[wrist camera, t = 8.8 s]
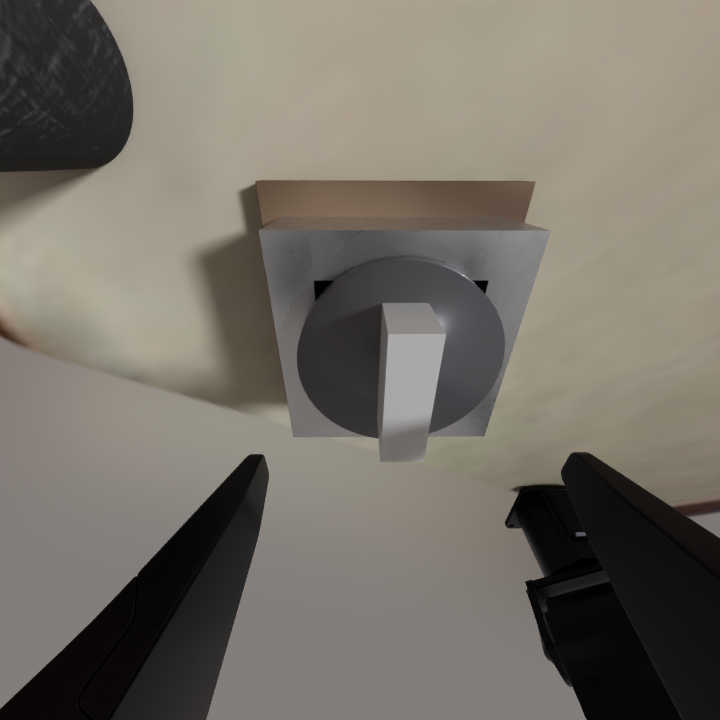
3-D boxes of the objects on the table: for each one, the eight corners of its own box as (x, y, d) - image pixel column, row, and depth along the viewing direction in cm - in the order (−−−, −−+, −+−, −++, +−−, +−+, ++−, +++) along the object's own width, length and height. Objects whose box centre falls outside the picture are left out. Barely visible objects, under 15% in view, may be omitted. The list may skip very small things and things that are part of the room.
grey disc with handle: (456, 389, 19) (499, 482, 13) (316, 389, 19) (298, 484, 13) (489, 240, 14) (580, 286, 8) (301, 240, 14) (263, 286, 8)
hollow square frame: (463, 392, 20) (484, 436, 17) (304, 393, 20) (293, 437, 17) (505, 217, 14) (550, 230, 11) (281, 216, 14) (258, 230, 11)
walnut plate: (467, 398, 22) (472, 408, 21) (295, 398, 22) (292, 409, 21) (523, 181, 15) (535, 181, 14) (262, 180, 15) (255, 181, 14)
